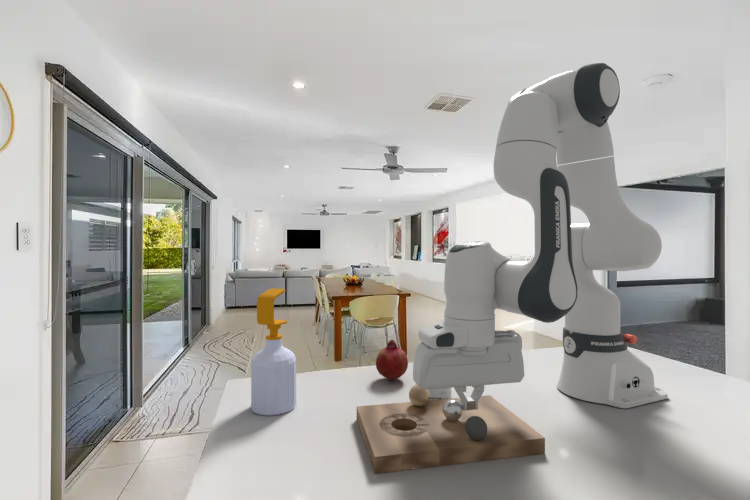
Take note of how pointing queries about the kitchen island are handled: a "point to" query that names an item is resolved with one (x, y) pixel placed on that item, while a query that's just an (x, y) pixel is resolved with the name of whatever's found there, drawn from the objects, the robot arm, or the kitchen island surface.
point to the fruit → (391, 361)
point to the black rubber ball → (476, 427)
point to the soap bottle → (272, 364)
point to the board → (441, 435)
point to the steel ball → (452, 410)
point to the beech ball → (418, 396)
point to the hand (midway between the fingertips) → (469, 409)
